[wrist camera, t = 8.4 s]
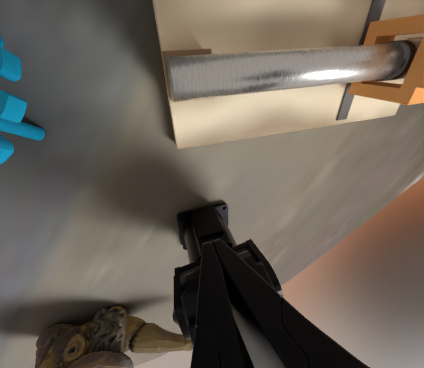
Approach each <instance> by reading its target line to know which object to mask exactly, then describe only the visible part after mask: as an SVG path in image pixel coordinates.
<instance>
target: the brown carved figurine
mask: <svg viewBox="0 0 424 368" xmlns="http://www.w3.org/2000/svg"><path fill="white" fill-rule="evenodd" d="M36 346H37V351H36V364H35V368H133V367H134V366H133V362H132V360H131V359H130V358H129V357H128V356H127V355H126V354H124V352H126V351H128V350H131V351H132V352H135V353H161V352H170V351H183V350H184V351H185V350H186V351H190V350H192V349H193V344H192V341H191V339H188V340H186V339H185V338H184V336H183V335H181V334H176V333H172V332H169V331H167V330H164V329H162V328H161V327H159V326H158V325H156V324H154V323H146V322H145V321H144V320H142V319H140V318H137V317H134V316H127V312H126V309H124V308H122V307H121V306H113V307H111V308H110V309H107V308H102V309H100V310H99V311H97V313H96V315H95V316H94V319H93V320H92V321H90V322H88V323H86V324H84V325H82V326H79V327H77V326H74V325H71V324H64V323H63V324H57V325H54V326H52V327H50V328H48V329H46V330H45V331H44V332H43V333H42V334H41V335H40V336H39V338H38V340H37V342H36Z"/></svg>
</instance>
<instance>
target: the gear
mask: <svg viewBox="0 0 424 368" xmlns="http://www.w3.org/2000/svg"><path fill="white" fill-rule="evenodd" d="M3 46H4V41H3V39H2V37H1V36H0V76H1V77H3V78H5V79H8V80H10V81H17V80H19V79H20V78H21V75H22V66H21V60H20V58H18V57H17V56H15V55H13V54H12V53H10V52H8V51H7V50H5V49H3ZM26 107H27V102H26V101H25V100H24V99H22V98H19V97H17V96H14V95H12V94H10V93H7V92H5V91H0V131H3V132H7V133H11V134H15V135H19V136H23V137H26V138H30V139H34V140H38V141H40V140H42V139H43V138H44V136H45V131H44V130H43V129H42V128H39V127H36V126H33V125H30V124H27V123H24V122H21V120H22V118H23V116H24V114H25V111H26ZM13 152H14V147H13V145H12V143H11V142H10V141H8V140H6V139H4V138H3V137H2V136H1V135H0V164H2V163H4V162H5V161H6V160H7V159H8V158H9V157H10V156H11V155H12V153H13Z"/></svg>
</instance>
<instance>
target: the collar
mask: <svg viewBox="0 0 424 368" xmlns="http://www.w3.org/2000/svg"><path fill="white" fill-rule="evenodd" d="M421 33H424V14H423V15H416V16H409V17H402V18H395V19H388V20H381V21H374V22H370V25H369V28H368V31H367V34H366V38H365V41H364V44H363V45H371V44H385V43H387V42H390V41H394V39H395V37H396V35H408V34H421ZM348 94H352V95H358V96H363V97H368V98H373V99H379V100H384V101H389V102H394V103H400V104H405V105H411V104H418V103H424V36H423V39H422V41H421V43H420V45H419V48H418V50H417V52H416V54H415V57H414V59H413V61H412V63H411V66H410V68H409V70H408V72H407V75H406V77H405V79H404V81H403V84H396V83H387V82H379V81H376V80H370V81H361V82H352V83H351V86H350V89H349V92H348Z"/></svg>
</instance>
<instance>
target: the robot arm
mask: <svg viewBox="0 0 424 368" xmlns="http://www.w3.org/2000/svg"><path fill="white" fill-rule="evenodd" d="M223 207H224V208H223ZM181 216H183V217H181ZM177 220H178V225H179V230H180V235H181V240H182V245H183V249H185V250H187V252H188V257H189V261H190V264H188V265H185V266H182V267H177V268H175V276H174V310H173V320H174V322H175V323H177V324H178V325H179V326H180V328H181V331H182V334H183V336H184V338H185V339H186V340H188V339H191V341H192V344H193V354H192V361H191V367H190V368H370V367H368V366H367V365H365V364H364V363H362V362H361V361H360V360H358V359H357V358H356V357H354V356H353V355H352V354H351V353H349V352H348V351H347V350H345V349H344V348H343V347H342V346H340V345H339V344H338V343H337V342H335V341H334V340H333V339H331V338H330V337H329V336H328V335H326V334H325V333H324V332H322V331H321V330H320V329H319V328H317V327H316V326H315V325H314V324H312V323H311V322H310V321H309V320H308V319H306V318H305V317H304V316H303V315H302V314H301V313H299V312H298V311H297V310H296V309H295V308H294V307H293V306H292V305H290V304H289V303H288V302H287V301H286V300H285V299H284V298H283V293H282V289H281V286H280V283H279V281H278V279H277V276H276V274H275V272H274V270H273V269H272V267H271V265H270V264H269V262H268V261H267V260H266V258H265V257H264V256H263V254H262V253H261V252H260V250H259V249H258V248H257V247H256V245H255V244H254V243H253V241H252V240H251V239H250V240H247V241H246V242H244V243H242V244H239V245H237V244H236V242H235V240H234V238H233V236H232V234H231V232H230V230H229V228H228V206H227V204H226V203H222V204H217V205H213V206H208V207H204V208H199V209H195V210H190V211H186V212H181V213H179V214H178V215H177Z"/></svg>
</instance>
